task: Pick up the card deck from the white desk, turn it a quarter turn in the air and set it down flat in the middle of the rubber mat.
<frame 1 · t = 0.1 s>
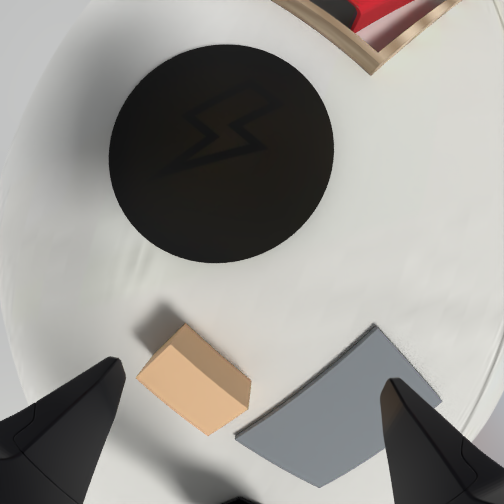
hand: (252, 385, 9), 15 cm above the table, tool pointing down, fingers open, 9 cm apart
wireless charger: (218, 149, 23), on the table
mat: (345, 423, 26), on the table
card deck: (201, 368, 26), on the table
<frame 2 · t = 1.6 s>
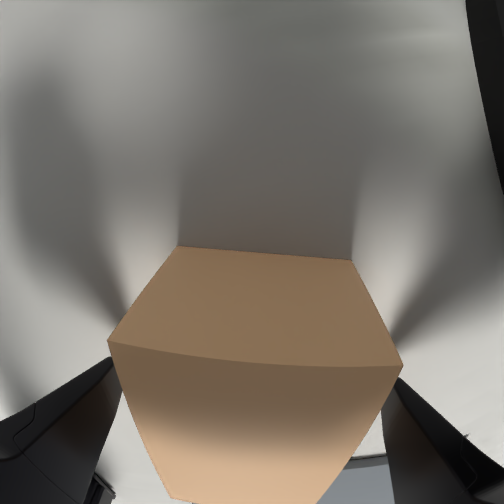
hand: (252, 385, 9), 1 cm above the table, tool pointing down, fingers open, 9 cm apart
mat: (315, 499, 15), on the table
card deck: (255, 356, 10), on the table
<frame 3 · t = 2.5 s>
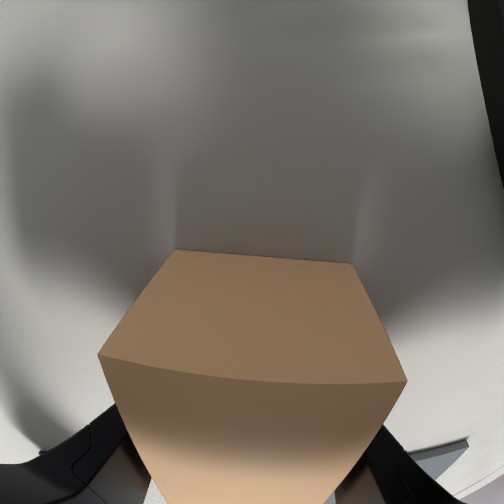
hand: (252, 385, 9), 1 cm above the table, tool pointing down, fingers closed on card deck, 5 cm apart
mat: (314, 501, 15), on the table
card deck: (254, 363, 10), on the table, touching gripper
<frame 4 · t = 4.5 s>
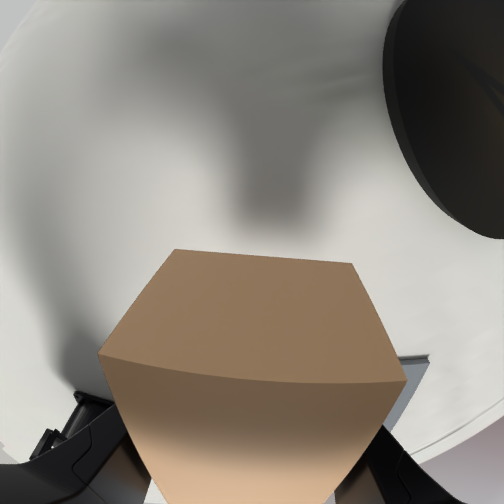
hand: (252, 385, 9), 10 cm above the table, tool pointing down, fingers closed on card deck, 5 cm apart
wireless charger: (491, 104, 13), on the table
mat: (309, 416, 23), on the table
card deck: (254, 363, 10), point 9 cm above the table, touching gripper
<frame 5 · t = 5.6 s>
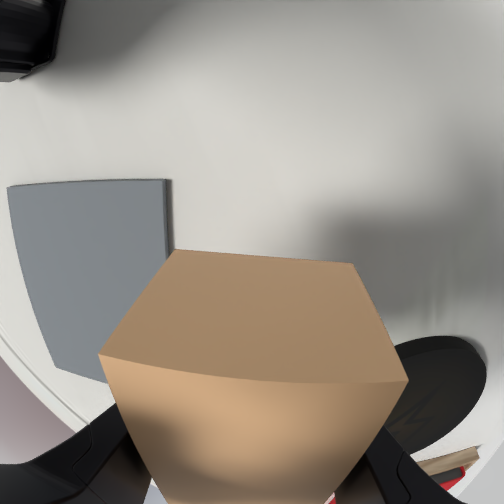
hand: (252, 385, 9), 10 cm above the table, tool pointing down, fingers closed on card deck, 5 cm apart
red device housing: (391, 482, 31), resting in organizer frame
wireless charger: (399, 403, 23), on the table
organizer frame: (373, 499, 33), on the table
mat: (90, 299, 20), on the table
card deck: (254, 363, 10), point 9 cm above the table, touching gripper
when the fingers open (3 cm above the table, at t = 9.0 s): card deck stays where it is, resting on mat.
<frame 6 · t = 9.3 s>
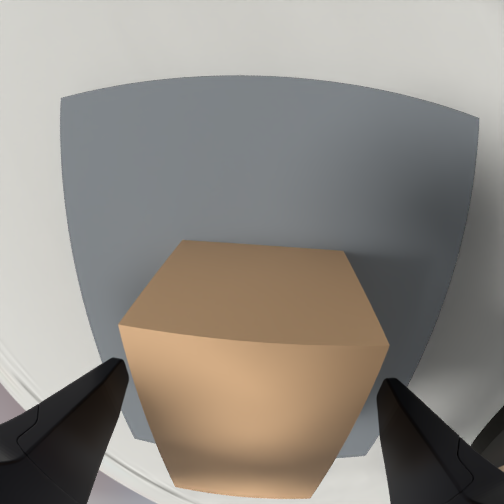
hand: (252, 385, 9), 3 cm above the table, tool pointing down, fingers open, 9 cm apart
mat: (256, 337, 11), on the table
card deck: (255, 346, 11), point 1 cm above the table, touching mat
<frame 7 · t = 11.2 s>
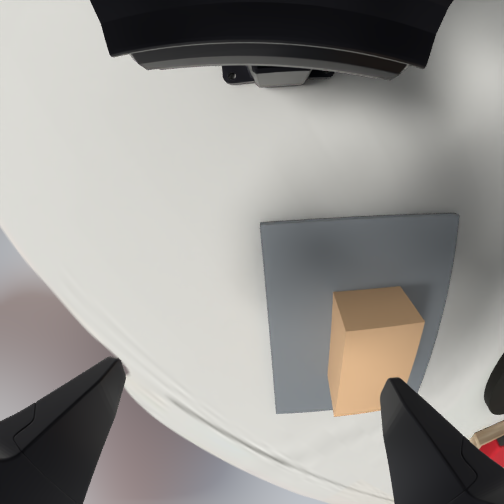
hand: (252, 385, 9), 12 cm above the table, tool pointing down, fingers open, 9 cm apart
organizer frame: (490, 454, 32), on the table
mat: (360, 330, 21), on the table
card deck: (362, 335, 21), point 1 cm above the table, touching mat
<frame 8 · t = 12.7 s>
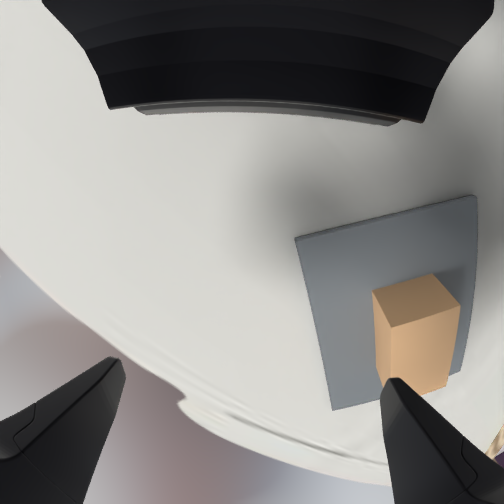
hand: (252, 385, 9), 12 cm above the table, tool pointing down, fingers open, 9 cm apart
mat: (401, 320, 21), on the table
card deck: (403, 324, 21), point 1 cm above the table, touching mat
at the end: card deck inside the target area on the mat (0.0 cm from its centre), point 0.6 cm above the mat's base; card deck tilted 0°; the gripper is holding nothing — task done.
